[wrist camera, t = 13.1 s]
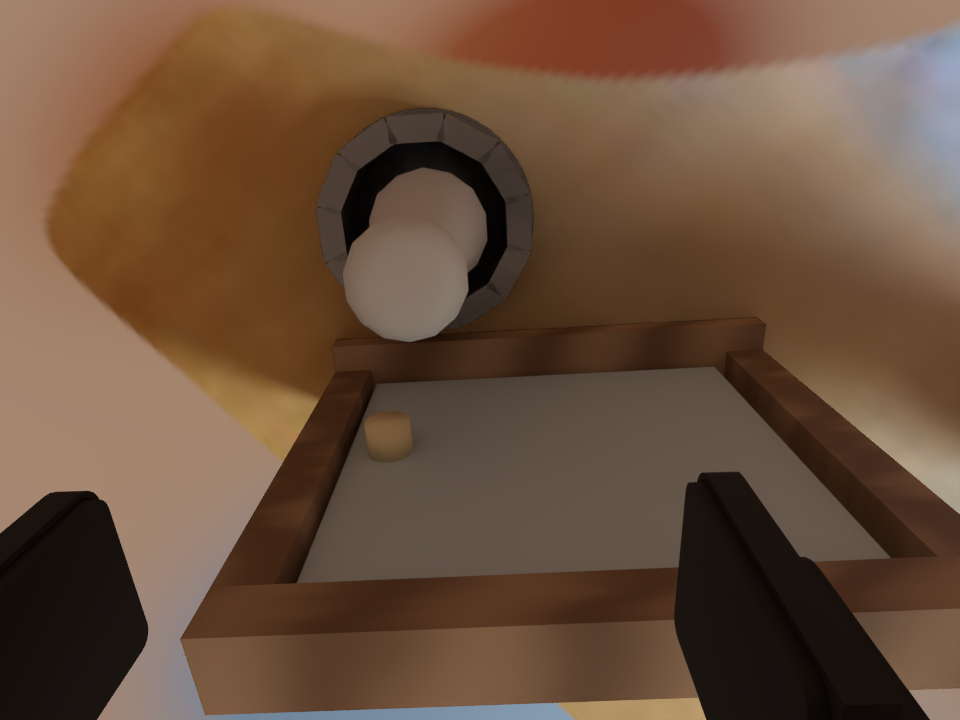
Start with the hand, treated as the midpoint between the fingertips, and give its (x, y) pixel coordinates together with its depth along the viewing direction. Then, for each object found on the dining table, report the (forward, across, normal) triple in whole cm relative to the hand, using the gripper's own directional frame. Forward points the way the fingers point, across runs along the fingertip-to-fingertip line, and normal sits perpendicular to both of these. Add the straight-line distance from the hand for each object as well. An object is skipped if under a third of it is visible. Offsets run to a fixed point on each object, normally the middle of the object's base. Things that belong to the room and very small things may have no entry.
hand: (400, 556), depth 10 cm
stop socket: (+25, +2, -2) cm, 25 cm away
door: (+23, -4, +7) cm, 25 cm away
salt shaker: (+24, +2, -2) cm, 25 cm away
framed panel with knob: (+25, -4, +8) cm, 26 cm away
